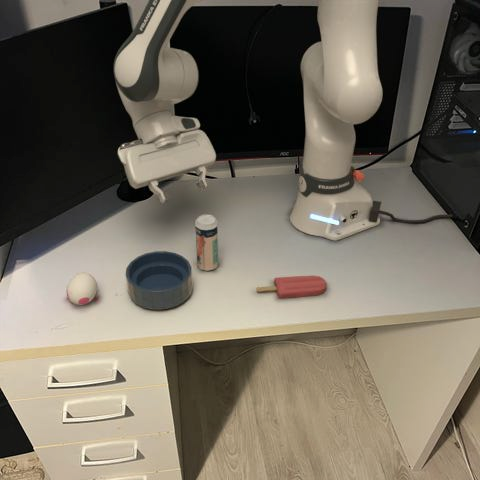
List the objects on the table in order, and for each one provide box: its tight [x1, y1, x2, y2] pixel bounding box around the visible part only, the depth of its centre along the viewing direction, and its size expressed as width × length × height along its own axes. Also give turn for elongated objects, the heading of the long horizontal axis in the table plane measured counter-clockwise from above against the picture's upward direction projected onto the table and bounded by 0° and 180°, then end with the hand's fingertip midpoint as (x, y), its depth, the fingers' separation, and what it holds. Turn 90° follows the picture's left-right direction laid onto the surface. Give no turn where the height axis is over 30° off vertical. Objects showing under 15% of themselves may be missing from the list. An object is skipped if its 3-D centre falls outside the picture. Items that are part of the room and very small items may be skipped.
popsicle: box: [256, 275, 328, 299], centre depth 109 cm, size 5×2×15 cm
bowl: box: [125, 250, 193, 310], centre depth 107 cm, size 13×13×6 cm
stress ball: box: [65, 272, 99, 306], centre depth 105 cm, size 8×8×7 cm
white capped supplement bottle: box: [194, 213, 219, 271], centre depth 111 cm, size 5×5×12 cm
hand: (185, 195), depth 111 cm, fingers open, 8 cm apart
